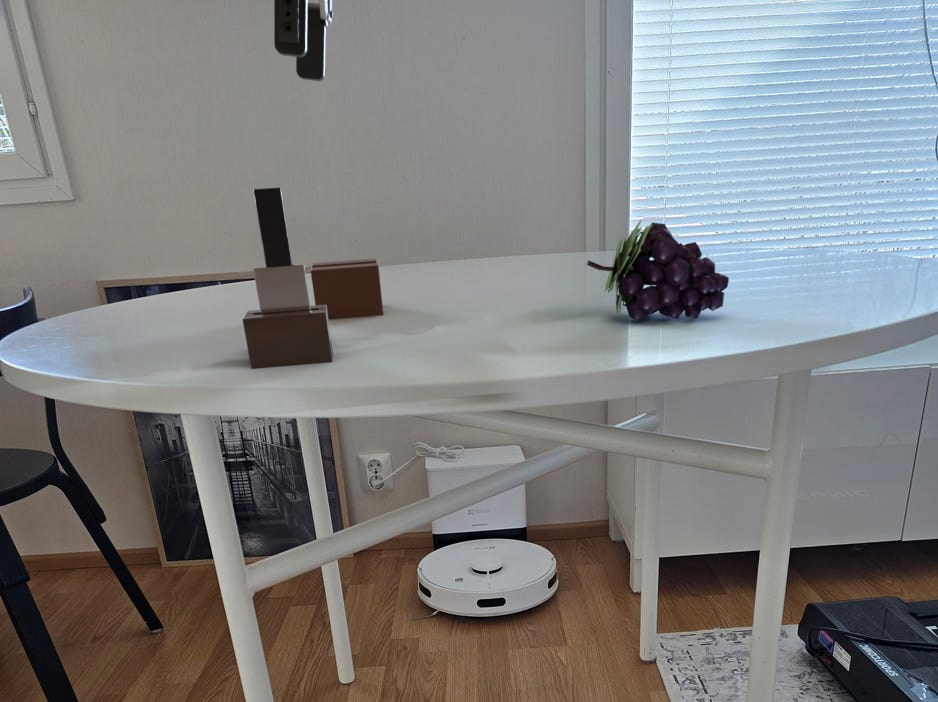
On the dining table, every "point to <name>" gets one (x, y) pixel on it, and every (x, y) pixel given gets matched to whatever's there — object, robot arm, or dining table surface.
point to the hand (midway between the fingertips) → (301, 67)
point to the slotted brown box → (348, 288)
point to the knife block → (288, 338)
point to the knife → (277, 259)
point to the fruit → (663, 276)
